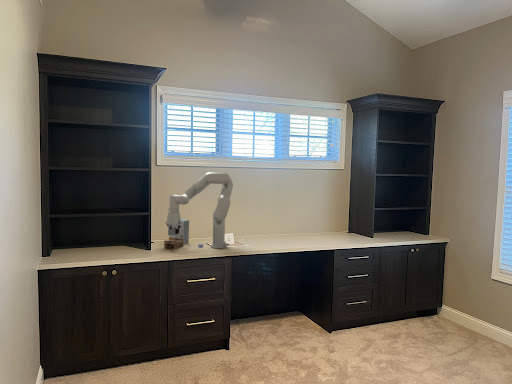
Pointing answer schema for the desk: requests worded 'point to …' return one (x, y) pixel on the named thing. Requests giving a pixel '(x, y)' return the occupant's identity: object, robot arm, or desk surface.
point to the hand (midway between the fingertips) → (173, 233)
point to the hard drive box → (182, 232)
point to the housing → (172, 231)
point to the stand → (173, 243)
